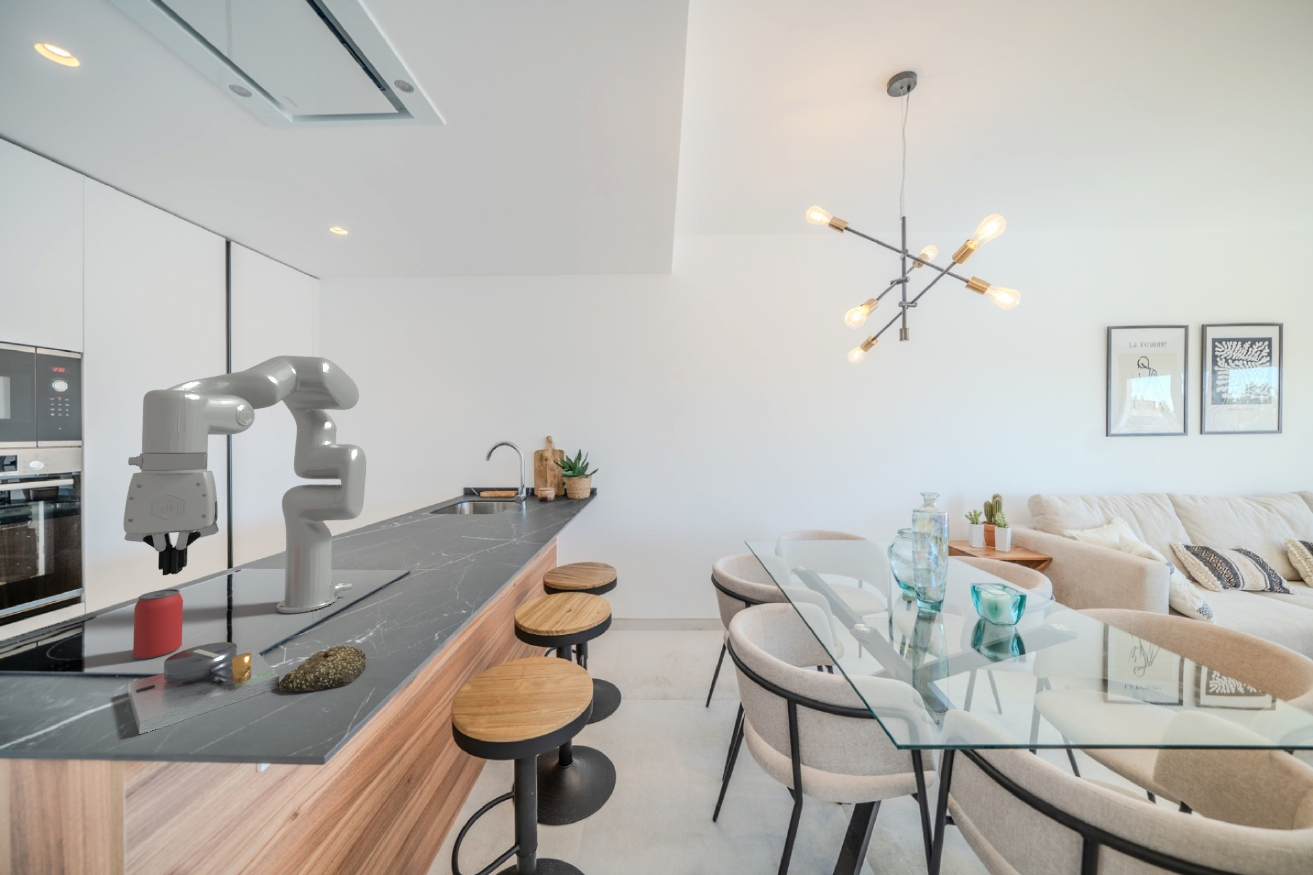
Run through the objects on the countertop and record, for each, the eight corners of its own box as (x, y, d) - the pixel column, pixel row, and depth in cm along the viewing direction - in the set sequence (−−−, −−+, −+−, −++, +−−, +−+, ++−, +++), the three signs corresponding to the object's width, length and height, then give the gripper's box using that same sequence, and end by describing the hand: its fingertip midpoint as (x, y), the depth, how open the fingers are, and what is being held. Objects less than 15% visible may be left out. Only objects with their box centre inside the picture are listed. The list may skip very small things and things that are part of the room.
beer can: (148, 662, 85) (150, 600, 86) (123, 658, 87) (125, 597, 87) (190, 646, 92) (192, 589, 92) (166, 643, 93) (168, 586, 93)
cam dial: (151, 676, 75) (151, 652, 75) (217, 652, 84) (218, 631, 84) (211, 695, 70) (212, 670, 70) (276, 668, 79) (276, 645, 79)
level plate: (253, 658, 88) (253, 644, 88) (279, 687, 78) (279, 672, 78) (128, 694, 75) (128, 679, 75) (139, 735, 65) (139, 717, 65)
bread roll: (348, 691, 77) (348, 662, 77) (267, 698, 75) (268, 668, 75) (379, 656, 90) (380, 631, 90) (311, 661, 87) (311, 636, 87)
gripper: (96, 465, 67) (92, 586, 67) (230, 464, 75) (228, 571, 75) (118, 463, 73) (115, 573, 73) (240, 462, 81) (238, 561, 81)
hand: (172, 572), depth 74 cm, fingers closed
